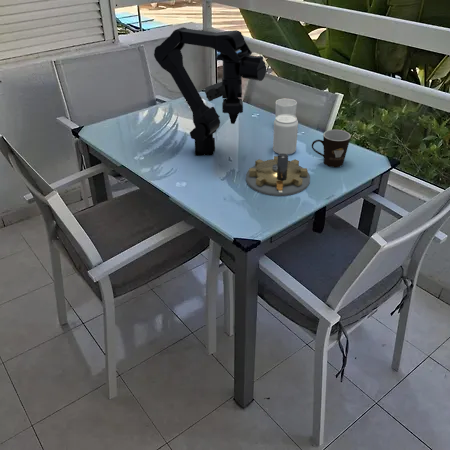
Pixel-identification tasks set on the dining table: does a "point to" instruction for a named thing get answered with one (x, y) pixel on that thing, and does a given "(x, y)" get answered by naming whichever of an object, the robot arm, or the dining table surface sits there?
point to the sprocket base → (272, 189)
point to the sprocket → (278, 172)
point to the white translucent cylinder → (286, 107)
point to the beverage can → (285, 134)
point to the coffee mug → (334, 147)
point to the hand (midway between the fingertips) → (232, 123)
